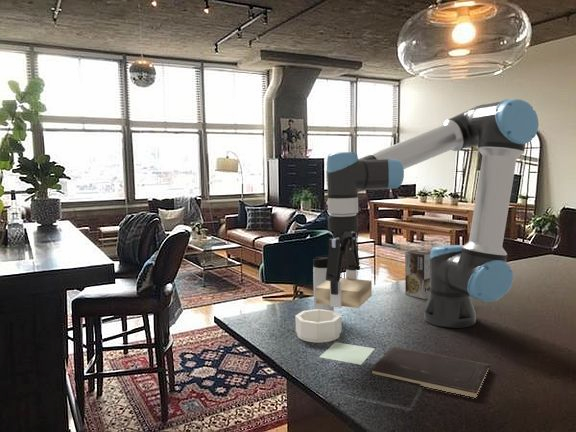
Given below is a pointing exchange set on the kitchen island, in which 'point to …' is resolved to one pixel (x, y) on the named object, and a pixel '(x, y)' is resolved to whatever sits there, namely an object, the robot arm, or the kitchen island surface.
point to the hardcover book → (433, 370)
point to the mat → (347, 353)
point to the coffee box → (417, 273)
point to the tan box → (346, 292)
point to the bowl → (318, 325)
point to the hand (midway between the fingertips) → (344, 300)
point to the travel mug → (320, 278)
